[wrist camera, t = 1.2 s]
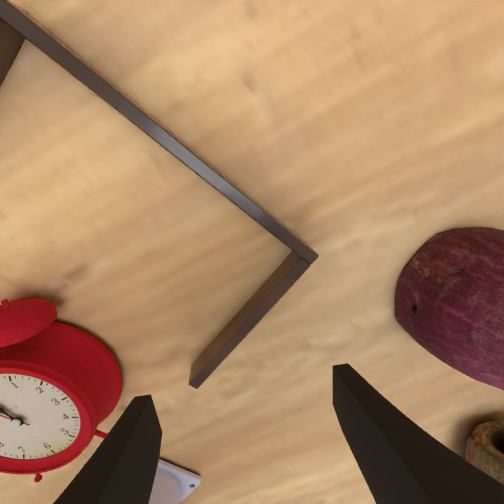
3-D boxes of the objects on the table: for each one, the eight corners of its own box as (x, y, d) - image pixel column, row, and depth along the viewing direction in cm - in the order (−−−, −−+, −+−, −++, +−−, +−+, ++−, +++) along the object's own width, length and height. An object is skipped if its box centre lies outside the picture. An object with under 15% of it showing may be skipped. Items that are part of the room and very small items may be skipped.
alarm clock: (18, 502, 20) (-271, 414, 12) (54, 415, 25) (-130, 313, 17) (145, 448, 20) (-69, 317, 11) (154, 371, 25) (13, 243, 17)
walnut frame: (199, 369, 22) (196, 389, 20) (-85, 213, 16) (-125, 220, 15) (310, 246, 20) (319, 256, 18) (19, 6, 14) (-14, -17, 12)
